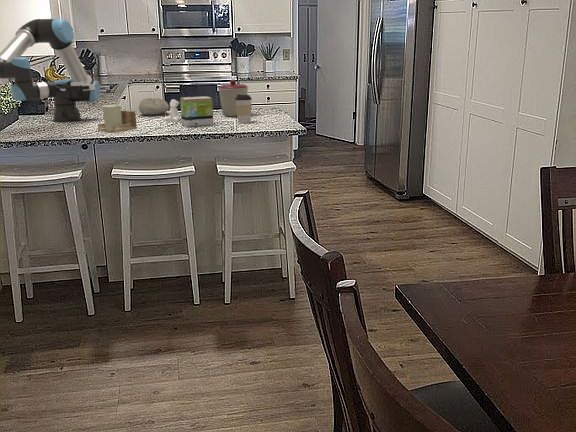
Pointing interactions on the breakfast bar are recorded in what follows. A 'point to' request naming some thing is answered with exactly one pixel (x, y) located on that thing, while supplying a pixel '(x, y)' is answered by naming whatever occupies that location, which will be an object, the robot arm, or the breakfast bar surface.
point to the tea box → (196, 111)
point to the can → (112, 116)
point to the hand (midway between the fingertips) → (89, 85)
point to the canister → (231, 97)
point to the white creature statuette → (173, 112)
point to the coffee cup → (243, 108)
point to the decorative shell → (153, 106)
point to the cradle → (127, 122)
